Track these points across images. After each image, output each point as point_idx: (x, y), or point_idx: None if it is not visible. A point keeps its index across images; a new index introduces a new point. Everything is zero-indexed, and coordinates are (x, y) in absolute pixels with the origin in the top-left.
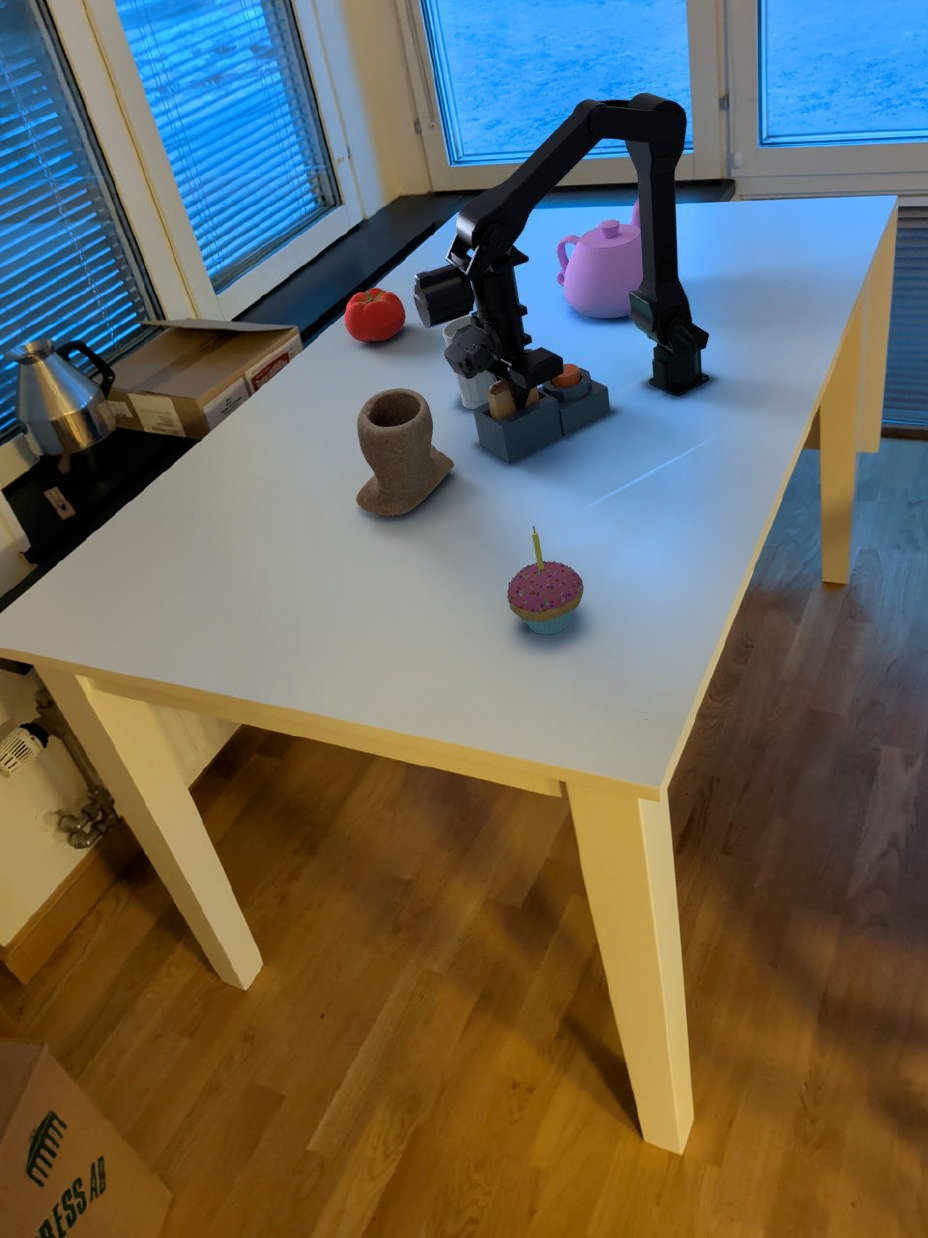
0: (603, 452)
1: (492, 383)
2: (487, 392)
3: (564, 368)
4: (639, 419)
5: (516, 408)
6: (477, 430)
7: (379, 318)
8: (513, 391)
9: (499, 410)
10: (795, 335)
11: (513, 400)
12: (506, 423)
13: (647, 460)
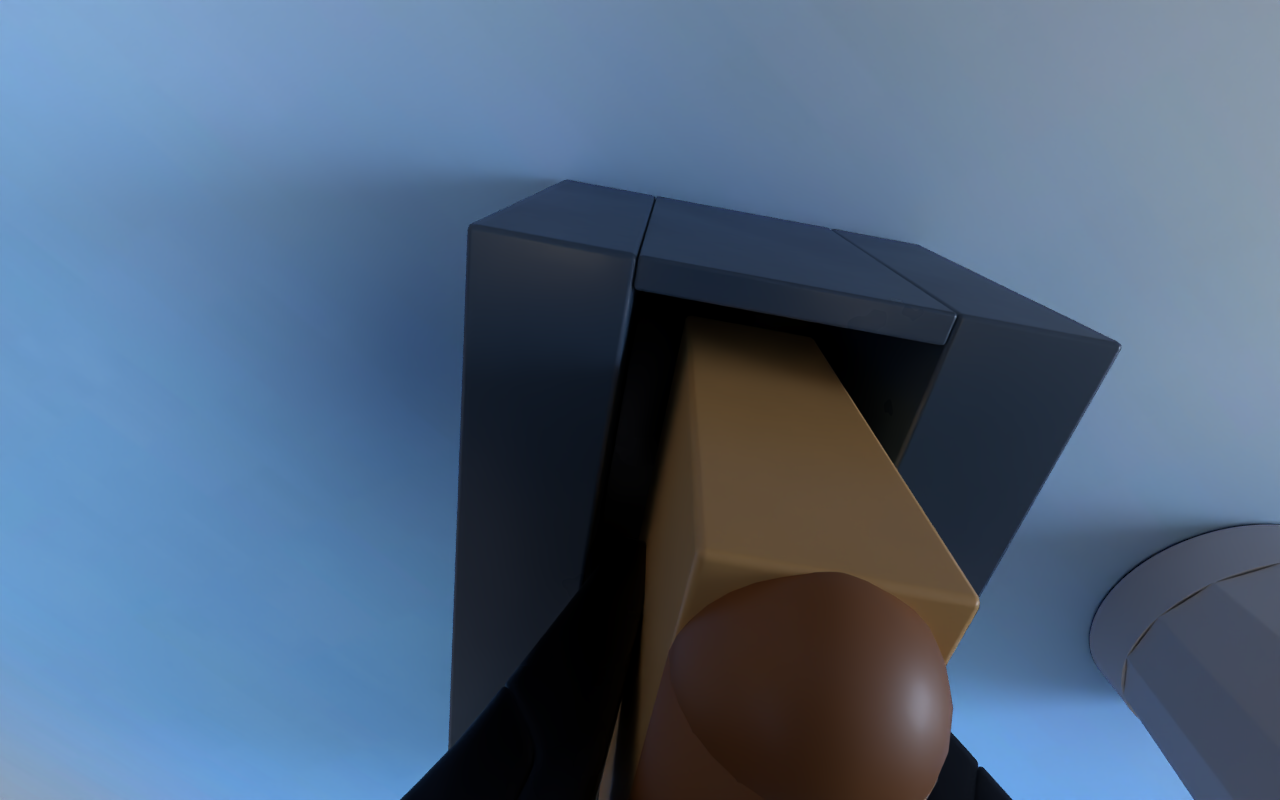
0: (247, 524)
1: (1203, 736)
2: (944, 581)
3: None
4: (362, 740)
5: (625, 555)
6: (972, 271)
7: None
8: (481, 742)
9: (681, 424)
10: None
11: (615, 617)
12: (486, 305)
13: (52, 557)
